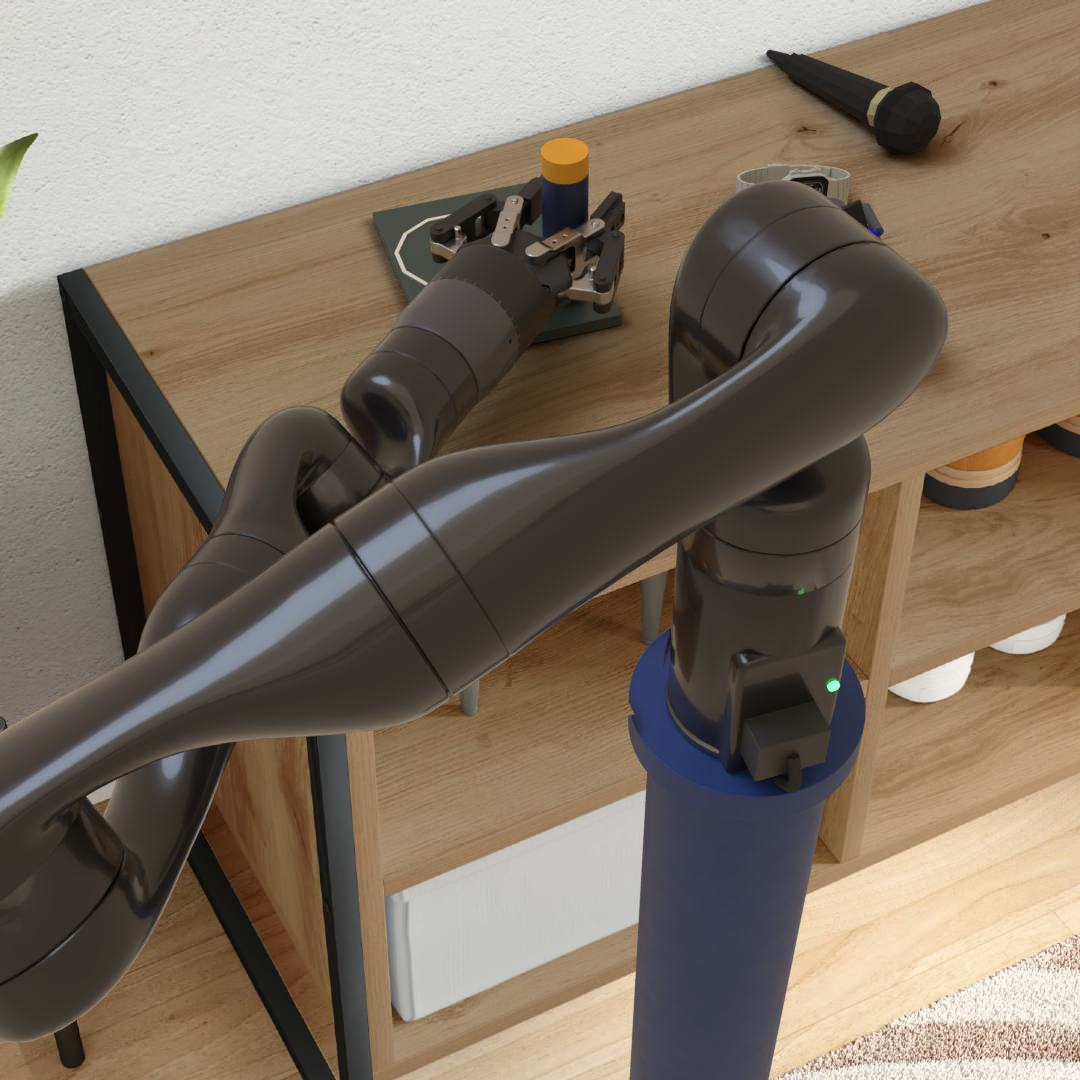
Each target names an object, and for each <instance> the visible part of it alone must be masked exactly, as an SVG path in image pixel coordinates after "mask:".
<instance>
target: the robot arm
mask: <svg viewBox="0 0 1080 1080" xmlns="http://www.w3.org/2000/svg"><path fill="white" fill-rule="evenodd" d="M526 183H527V185H525V186H524V188H523V189H522V190H521V191H520V192H519V193H518V194H517V195H513V196H509V197H508V198H507V199H506V201H500V200H496V196H495V195H493V194H490V193H487V194H483V195H481V196H479V197H478V198H476V199H474V200H473V201H471V202H470V203H468V204H466V205H465V206H463V207H462V208H460V209H458V210H457V211H455V212H454V213H452V214H450V215H449V216H447V217H445V218H444V219H442V220H441V221H439V222H437V223H436V224H434V225H433V226H431V227H430V243H431V251H432V260H433V261H434V262H435V263H439V264H442V263H446V262H447V263H446V264H445V265H444V266H443V267H442V269H441V270H440V271H439V272H438V273H437V274H436V275H435V276H434V277H433V278H432V279H431V281H430V282H429V283H428V284H427V285H426V286H425V287H424V288H423V289H422V291H421V292H420V293H419V294H418V295H417V296H416V297H415V298H414V299H413V300H412V301H411V302H410V304H409V305H408V304H407V306H406V307H404V309H403V310H402V312H401V313H400V314H399V316H397V319H396V320H395V321H394V324H393V325H392V327H391V329H390V330H389V331H388V332H387V333H386V335H385V336H384V337H383V338H382V339H381V340H380V341H379V343H378V344H377V345H376V346H375V347H374V348H373V349H372V350H371V351H370V353H368V355H367V356H366V357H365V358H364V359H363V360H361V362H360V363H359V364H358V365H357V366H356V368H354V369H353V371H352V372H351V373H350V375H349V376H348V377H347V378H346V380H345V381H344V384H343V385H342V388H341V390H340V397H339V407H340V412H341V416H342V419H343V421H344V423H345V425H346V427H347V428H346V427H345V426H344V425H343V424H342V423H341V422H340V421H339V420H338V419H337V418H336V417H335V416H334V415H332V414H331V413H329V412H328V411H326V410H325V409H323V408H321V407H318V406H314V405H307V404H300V405H299V404H298V405H291V406H288V407H285V408H284V407H283V408H282V409H279V410H278V411H276V412H274V413H272V414H271V415H269V416H268V417H267V418H265V419H264V420H263V421H262V422H261V423H260V424H259V425H258V426H257V427H256V428H255V429H254V431H253V432H252V433H251V434H250V435H249V437H248V438H247V439H246V441H245V442H244V444H243V446H242V447H241V450H240V451H239V453H238V455H237V458H236V460H235V462H234V464H233V467H232V470H231V473H230V475H229V478H228V481H227V484H226V487H225V491H224V495H223V499H222V501H221V505H220V507H219V511H218V514H217V516H216V519H215V521H214V523H213V526H212V528H211V531H210V533H209V534H208V535H207V537H206V539H205V540H204V541H203V542H202V544H201V545H200V546H199V547H198V549H196V551H195V552H194V553H193V554H192V556H191V557H190V558H189V559H188V561H187V562H186V563H184V565H183V566H182V568H181V569H180V570H179V572H177V574H176V575H175V576H174V577H173V578H172V580H171V581H170V582H169V584H168V585H166V587H165V588H164V589H163V591H162V593H161V594H160V595H159V597H158V599H157V600H156V601H155V603H154V605H153V607H152V609H151V611H150V613H149V614H148V617H147V619H146V621H145V624H144V626H143V629H142V632H141V635H140V640H139V642H138V646H137V649H136V650H137V651H136V653H135V654H134V655H133V656H131V657H129V658H127V659H126V660H124V661H122V662H120V663H119V664H117V665H115V666H114V667H111V668H110V669H108V670H107V671H105V672H103V673H102V674H99V675H97V676H96V677H94V678H93V679H91V680H90V681H87V682H86V683H83V684H82V685H81V686H78V687H76V688H75V689H73V690H72V691H70V692H68V693H67V694H64V695H63V696H61V697H59V698H58V699H55V700H54V701H52V702H50V703H48V704H47V705H45V706H44V707H42V708H40V709H38V710H37V711H35V712H33V713H31V714H29V715H28V716H26V717H24V718H22V719H21V720H19V721H18V722H16V723H14V724H12V725H10V726H8V727H6V728H5V729H3V730H1V731H0V1042H3V1043H6V1044H11V1043H12V1044H13V1043H15V1044H16V1043H17V1044H18V1043H29V1042H33V1041H37V1040H39V1039H42V1038H45V1037H48V1036H50V1035H53V1034H54V1033H57V1032H59V1031H61V1030H63V1029H65V1028H66V1027H68V1026H69V1025H71V1024H72V1023H74V1022H76V1021H78V1019H80V1018H82V1017H83V1016H85V1015H87V1013H88V1012H90V1011H91V1010H92V1009H93V1008H95V1006H97V1005H98V1004H99V1003H100V1002H101V1001H102V1000H103V999H105V998H106V997H107V996H108V995H109V993H110V992H111V991H112V990H113V989H114V988H115V987H116V986H117V984H118V983H120V981H121V980H122V979H123V977H124V976H125V975H126V974H127V973H128V971H129V970H130V969H131V968H132V966H133V965H134V963H135V961H136V960H137V958H138V957H139V955H140V954H141V952H142V951H143V949H144V948H145V946H146V945H147V943H148V941H149V940H150V938H151V936H152V934H153V933H154V931H155V929H156V927H157V925H158V924H159V922H160V919H161V917H162V915H163V914H164V911H165V909H166V907H167V905H168V902H169V901H170V898H171V895H172V893H173V891H174V889H175V887H176V885H177V883H178V880H179V877H180V876H181V873H182V871H183V868H184V866H185V864H186V862H187V859H188V857H189V855H190V852H191V850H192V848H193V846H194V844H195V842H196V839H197V837H198V835H199V833H200V830H201V828H202V826H203V824H204V822H205V820H206V817H207V814H208V812H209V810H210V808H211V806H212V803H213V800H214V798H215V796H216V793H217V792H218V788H219V786H220V784H221V781H222V779H223V777H224V774H225V771H226V768H227V766H228V763H229V761H230V758H231V756H232V755H233V752H234V749H235V747H236V745H237V743H238V742H240V743H241V742H249V741H257V740H258V741H259V740H272V739H273V740H274V739H275V740H276V739H291V738H292V739H293V738H308V737H309V738H310V737H321V736H324V737H325V736H337V735H346V734H354V733H355V734H357V733H364V732H373V731H377V730H384V729H388V728H393V727H398V726H402V725H405V724H407V723H410V722H415V721H417V720H419V719H421V718H422V717H425V716H427V715H429V714H431V713H432V712H434V711H435V710H437V709H438V708H440V707H441V706H443V705H445V704H446V703H447V702H449V701H450V700H451V697H453V698H455V697H456V696H458V695H459V694H461V693H462V692H464V691H465V690H467V689H468V688H469V687H471V686H472V685H474V684H475V683H476V682H478V681H480V680H481V679H482V678H484V677H485V676H487V675H489V673H491V672H492V671H494V670H495V669H497V668H498V667H499V666H501V665H503V664H504V663H505V662H508V660H510V658H512V657H514V656H515V655H516V654H518V653H519V652H521V651H522V650H523V649H524V648H526V647H527V646H529V645H530V644H531V643H532V642H534V641H535V640H537V639H538V638H539V637H541V636H542V635H544V634H545V633H546V632H547V631H548V630H550V629H551V628H553V627H555V626H556V625H557V624H558V623H559V622H561V621H562V620H563V619H565V618H566V617H568V616H569V615H571V614H572V613H574V612H575V611H576V610H578V609H579V608H580V607H582V606H583V605H585V604H586V603H588V602H589V601H591V600H592V599H594V598H595V597H598V595H599V594H601V593H603V592H604V591H605V590H607V589H608V588H610V587H611V586H613V585H615V584H616V583H617V582H619V581H620V580H622V579H623V578H625V577H626V576H628V575H630V574H631V573H632V572H634V571H636V570H637V569H638V568H640V567H641V566H642V565H645V564H646V563H647V562H649V561H651V560H652V559H654V558H655V557H657V556H658V555H660V554H661V553H663V552H665V551H666V550H668V549H669V548H671V547H672V546H674V545H676V557H675V558H676V559H675V571H674V587H673V599H672V616H671V627H670V629H671V630H670V634H669V637H668V641H667V644H666V648H665V651H664V662H663V668H664V664H665V661H666V657H667V654H668V650H669V647H670V664H669V673H668V676H667V683H666V705H667V709H668V713H669V715H670V718H671V720H672V722H673V724H674V725H675V727H676V728H677V730H678V731H679V732H680V733H681V735H682V736H683V737H684V738H685V739H686V740H687V741H688V742H689V743H691V744H692V745H693V746H694V747H696V748H697V749H699V750H700V751H702V752H704V753H706V754H708V755H710V756H712V757H714V758H717V759H718V760H719V761H720V762H721V764H722V765H723V768H724V770H725V771H726V772H727V773H729V774H733V773H737V772H740V771H744V770H748V769H749V771H750V773H751V775H752V777H753V779H754V781H755V782H756V781H759V780H763V779H766V778H770V777H774V776H776V777H775V784H776V785H777V786H778V787H780V788H782V789H784V790H785V791H787V792H795V791H797V790H798V789H799V788H800V786H801V783H802V770H801V769H802V768H806V767H809V766H813V765H816V764H820V763H824V762H825V759H826V754H827V749H828V744H829V739H830V733H831V724H832V719H833V714H834V709H835V704H836V699H837V694H838V689H839V687H840V678H841V673H842V668H843V663H844V658H846V654H847V653H846V652H847V647H848V640H847V639H848V638H847V637H846V635H845V634H844V632H843V625H844V621H845V615H846V609H847V604H848V599H849V593H850V590H851V589H850V588H851V583H852V578H853V572H854V567H855V562H856V558H857V557H856V556H857V552H858V548H859V543H860V537H861V533H862V528H863V527H862V526H863V522H864V516H865V511H866V506H867V502H868V496H869V492H870V491H869V490H870V487H871V486H870V485H871V478H872V459H871V453H870V449H869V445H868V442H867V440H866V438H865V434H866V433H867V432H868V431H870V430H872V429H873V428H874V427H876V426H877V425H879V424H880V423H881V422H883V421H884V420H885V419H887V418H888V417H889V416H890V415H892V414H893V413H894V412H895V411H896V410H897V409H898V408H899V407H900V406H901V405H903V404H904V403H905V402H906V401H907V400H908V399H909V398H910V397H911V396H912V395H913V394H914V393H915V392H916V390H917V389H918V388H919V386H920V385H921V384H922V383H923V381H925V379H926V378H927V377H928V375H930V373H931V372H932V370H933V369H934V367H935V366H936V364H937V362H938V360H939V359H940V356H941V354H942V352H943V348H944V346H945V343H946V340H947V336H948V331H949V315H948V311H947V310H948V309H947V306H946V303H945V301H944V300H943V297H942V295H941V293H940V292H939V291H938V290H937V289H936V288H935V287H934V286H933V284H932V283H931V282H930V281H929V279H928V278H926V276H924V274H922V273H921V272H920V271H919V270H918V269H917V268H915V267H914V266H913V265H912V264H911V263H909V261H907V260H906V259H905V258H904V257H903V256H902V255H900V254H899V253H898V252H897V251H895V249H893V248H892V247H891V246H889V245H888V244H887V243H886V242H885V241H883V240H882V238H881V239H879V238H878V237H877V236H876V235H874V234H873V233H872V232H871V231H869V230H868V229H867V228H866V227H864V226H863V225H862V224H861V223H859V222H858V221H857V220H856V219H854V218H853V217H852V216H850V215H849V214H848V213H847V212H845V211H844V210H843V209H842V208H840V207H839V206H838V205H837V204H835V203H834V202H833V201H832V200H830V199H829V198H828V197H826V196H825V195H824V194H822V193H821V192H819V191H817V190H815V189H814V188H812V187H810V186H808V185H805V184H802V183H799V182H794V181H788V180H771V181H766V182H762V183H758V184H754V185H752V186H749V187H747V188H745V189H742V190H741V191H739V192H737V193H736V192H735V193H734V194H732V195H731V196H729V197H728V198H726V199H725V200H724V201H723V202H721V204H719V205H718V206H717V207H716V208H715V209H714V210H713V211H711V213H710V214H709V215H708V216H707V218H706V219H705V220H704V221H703V222H702V224H701V225H700V226H699V227H698V229H697V230H696V232H695V234H694V235H693V237H692V238H691V240H690V241H689V244H688V246H687V248H686V250H685V252H684V254H683V257H682V259H681V262H680V264H679V267H678V270H677V273H676V275H675V280H674V283H673V287H672V292H671V299H670V305H669V306H670V307H669V316H668V335H667V336H668V339H667V340H668V342H667V351H668V352H667V353H668V354H667V359H668V360H667V362H668V363H667V364H668V365H667V366H668V367H667V369H668V370H667V375H668V384H667V385H668V404H667V405H665V406H662V407H661V408H659V409H656V410H655V411H652V412H651V413H648V414H645V415H643V416H639V417H636V418H635V419H632V420H629V421H625V422H623V423H619V424H615V425H610V426H608V427H604V428H599V429H593V430H586V431H579V432H573V433H567V434H560V435H552V436H543V437H537V438H536V437H535V438H528V439H520V440H513V441H504V442H497V443H492V444H491V443H490V444H485V445H479V446H472V447H468V448H463V449H458V450H454V451H451V452H448V453H443V454H440V453H441V450H442V449H443V447H444V445H445V444H446V443H447V442H448V440H449V439H450V438H451V437H452V435H453V434H454V433H455V432H456V431H457V429H458V428H459V427H460V425H462V423H463V422H464V421H465V419H466V418H468V416H469V414H470V413H471V412H472V411H473V409H474V408H476V406H477V405H478V404H480V403H481V402H482V401H483V400H484V399H485V398H487V397H488V396H489V395H490V394H491V393H492V392H493V391H494V389H496V387H498V385H499V383H501V381H502V380H503V379H504V378H505V377H506V375H508V374H509V373H510V371H511V370H512V369H513V367H514V366H515V364H516V363H517V361H519V359H520V358H521V357H522V355H523V354H524V353H525V352H526V350H527V349H528V348H529V347H530V346H531V345H532V344H531V343H532V342H533V341H534V339H535V338H536V337H537V336H538V334H539V333H540V332H541V331H542V329H543V328H544V326H545V324H546V322H547V321H548V319H549V317H550V315H551V314H552V312H553V311H555V310H556V309H558V308H560V307H563V306H565V305H567V304H568V303H569V302H570V300H579V301H587V302H593V310H594V311H595V312H596V313H599V314H605V313H608V312H609V311H610V310H611V307H612V304H613V301H614V300H615V297H616V294H617V290H618V287H619V284H620V281H621V276H622V273H623V270H624V267H625V245H626V244H625V243H626V238H625V237H626V235H625V233H624V232H623V231H621V228H622V227H623V226H624V225H625V222H626V201H623V193H622V192H621V193H620V192H617V191H614V190H611V191H610V192H609V193H608V194H607V196H606V197H605V198H604V199H603V201H601V203H600V204H599V205H598V206H597V208H596V209H594V211H593V213H591V215H590V216H589V219H588V221H587V222H585V223H584V224H582V225H580V226H579V227H577V228H575V229H572V228H570V227H566V228H565V229H563V230H561V231H560V232H558V233H556V234H554V235H553V236H551V237H549V238H548V237H540V236H535V235H533V234H531V233H530V232H528V231H525V230H524V225H525V224H526V225H530V226H531V225H532V224H533V223H534V222H535V221H536V220H537V219H538V218H539V216H540V215H541V214H542V184H541V175H540V176H539V177H537V176H535V177H533V178H532V179H530V180H529V181H528V182H526ZM478 217H480V218H481V220H480V221H478V222H477V223H475V221H476V219H477V218H478ZM494 231H495V232H494ZM491 233H493V235H492V236H488V235H490V234H491ZM486 236H488V237H486ZM586 242H587V246H585V247H584V244H585V243H586ZM597 260H598V261H597ZM595 261H597V264H596V266H595V265H594V266H591V267H590V268H589V272H588V273H586V274H585V275H584V277H583V278H582V279H579V280H574V279H576V278H577V277H579V276H580V275H581V274H582V272H583V270H584V268H585V267H586V266H587V265H589V264H591V263H594V262H595ZM614 302H615V301H614ZM784 773H788V775H789V777H788V776H786V775H783V774H784ZM113 782H115V783H114V785H113V786H114V787H113V788H112V792H111V795H110V798H109V800H108V802H107V806H106V808H105V810H104V812H103V814H102V813H101V812H100V811H99V810H98V808H97V807H95V805H94V804H93V803H92V801H91V800H90V799H89V798H88V797H87V796H89V795H91V794H93V793H94V792H96V791H97V790H99V789H102V788H104V787H106V786H107V785H109V784H112V783H113Z"/></svg>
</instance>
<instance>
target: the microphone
mask: <svg viewBox="0 0 1080 1080" xmlns="http://www.w3.org/2000/svg"><path fill="white" fill-rule="evenodd" d="M765 55H766V57H767V58H768V59H769V60H771V61H772V62H774V64H776V65H777V66H778V67H780V68H781V69H782V71H783V72H784V73H786V75H788V77H789V79H791V80H793V81H794V82H796V83H797V84H799V85H801V86H803V87H805V88H806V89H808V90H809V91H811V92H813V93H815V94H816V95H818V96H820V97H821V98H823V99H825V100H826V101H828V102H830V103H831V104H833V105H835V106H836V107H838V108H840V109H842V110H843V111H844V112H846V113H848V114H850V115H851V116H853V117H855V118H857V119H859V121H862V122H863V123H865V124H867V125H869V126H871V127H872V128H873V129H874V135H875V138H876V143H877V145H878V146H880V147H881V148H883V149H885V150H886V151H889V152H891V153H893V154H895V155H900V154H902V153H906V154H907V153H915V152H918V151H920V150H922V149H925V148H926V147H928V145H929V144H930V143H931V141H932V140H933V139H934V138H935V137H936V136H937V134H938V130H939V127H940V125H941V122H942V113H941V107H940V104H939V103H938V101H937V100H936V99H935V98H934V96H933V93H932V90H930V89H929V88H927V87H925V86H924V85H921V84H919V83H917V82H915V81H911V80H910V81H908V82H906V83H904V84H901V85H899V86H896V87H891V86H889V85H887V84H883V83H882V82H879V81H876V80H873V79H870V78H868V77H865V76H862V75H860V74H857V73H854V72H852V71H849V70H847V69H843V68H841V67H838V66H836V65H833V64H830V63H828V62H825V61H822V60H820V59H816V58H814V57H811V56H809V55H806V54H804V53H800V54H799V53H796V52H792V53H791V54H790V53H787V52H782V51H778V50H774V49H767V50H766V51H765Z"/></svg>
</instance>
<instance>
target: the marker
mask: <svg viewBox="0 0 1080 1080" xmlns="http://www.w3.org/2000/svg"><path fill="white" fill-rule="evenodd" d="M589 153H590V150H589V147H588V146H587V144H586V143H585V142H583V141H581V140H579V139H576V138H573V137H558V138H554V139H552V140H551V139H550V140H549V141H547V142H546V143H544V144H543V145H542V147H541V149H540V171H541V172H540V173H541V175H540V176H541V184H542V237H548V238H549V237H551V236H553V235H554V234H556V233H558V232H560V231H561V230H563V229H565V228H566V227H570V228H572V229H575V228H577V227H579V226H580V225H582V224H584V223H585V222H587V221H589V192H590V191H589V189H590V188H589V187H590V186H589V184H590V183H589V182H590V181H589V178H590V177H589V176H590V175H589V174H590V173H589V172H590V170H589V169H590V163H589V162H590V161H589V160H590V154H589ZM585 246H587V242H586V243H585V244H584V247H585ZM586 273H588V265H587V266H586V267H585V268H584V270H583V272H582V274H581V275H580V276H579V277H577V278H576V279H574V280H579V279H582V278H583V277H584V275H585V274H586ZM577 301H578V300H570V302H569V303H568V304H572V303H575V302H577Z"/></svg>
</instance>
